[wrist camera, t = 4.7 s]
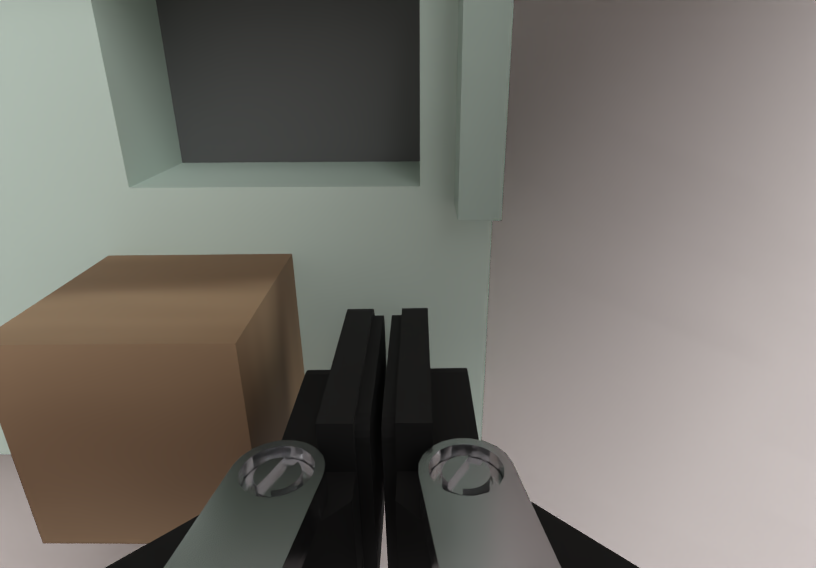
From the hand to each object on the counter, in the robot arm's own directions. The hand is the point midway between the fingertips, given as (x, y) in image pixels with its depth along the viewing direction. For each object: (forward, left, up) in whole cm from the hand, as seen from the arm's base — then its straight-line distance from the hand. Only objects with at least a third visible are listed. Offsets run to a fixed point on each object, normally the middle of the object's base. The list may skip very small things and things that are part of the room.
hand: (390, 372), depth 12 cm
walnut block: (0, -4, -1) cm, 4 cm away
